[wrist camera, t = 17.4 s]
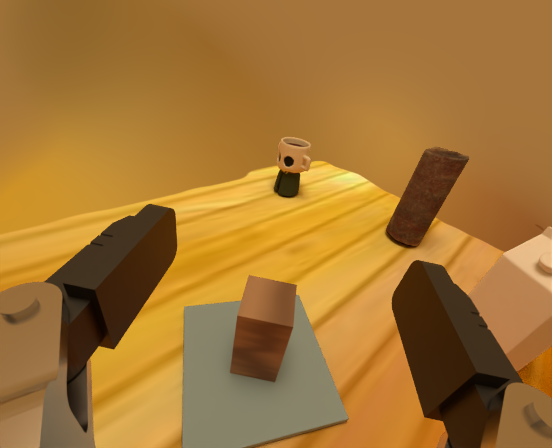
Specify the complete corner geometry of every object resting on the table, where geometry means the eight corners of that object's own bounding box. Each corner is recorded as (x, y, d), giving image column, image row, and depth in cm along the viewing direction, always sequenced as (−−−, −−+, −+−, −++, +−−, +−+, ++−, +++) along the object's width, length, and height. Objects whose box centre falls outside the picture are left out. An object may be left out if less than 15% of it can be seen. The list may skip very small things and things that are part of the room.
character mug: (261, 185, 69) (269, 134, 62) (282, 180, 73) (291, 133, 66) (289, 205, 63) (301, 152, 55) (310, 199, 67) (323, 149, 60)
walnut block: (229, 372, 29) (237, 315, 23) (240, 332, 33) (249, 275, 27) (274, 382, 29) (293, 327, 23) (279, 340, 33) (296, 285, 27)
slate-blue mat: (182, 466, 23) (182, 463, 22) (184, 310, 35) (184, 306, 35) (346, 421, 27) (348, 418, 27) (297, 298, 40) (298, 294, 39)
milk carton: (475, 325, 41) (570, 226, 31) (517, 372, 36) (651, 271, 25) (438, 329, 39) (525, 225, 29) (476, 379, 34) (602, 273, 23)
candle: (402, 252, 54) (455, 159, 43) (376, 231, 59) (418, 143, 48) (425, 245, 58) (479, 158, 47) (399, 226, 63) (442, 143, 52)
